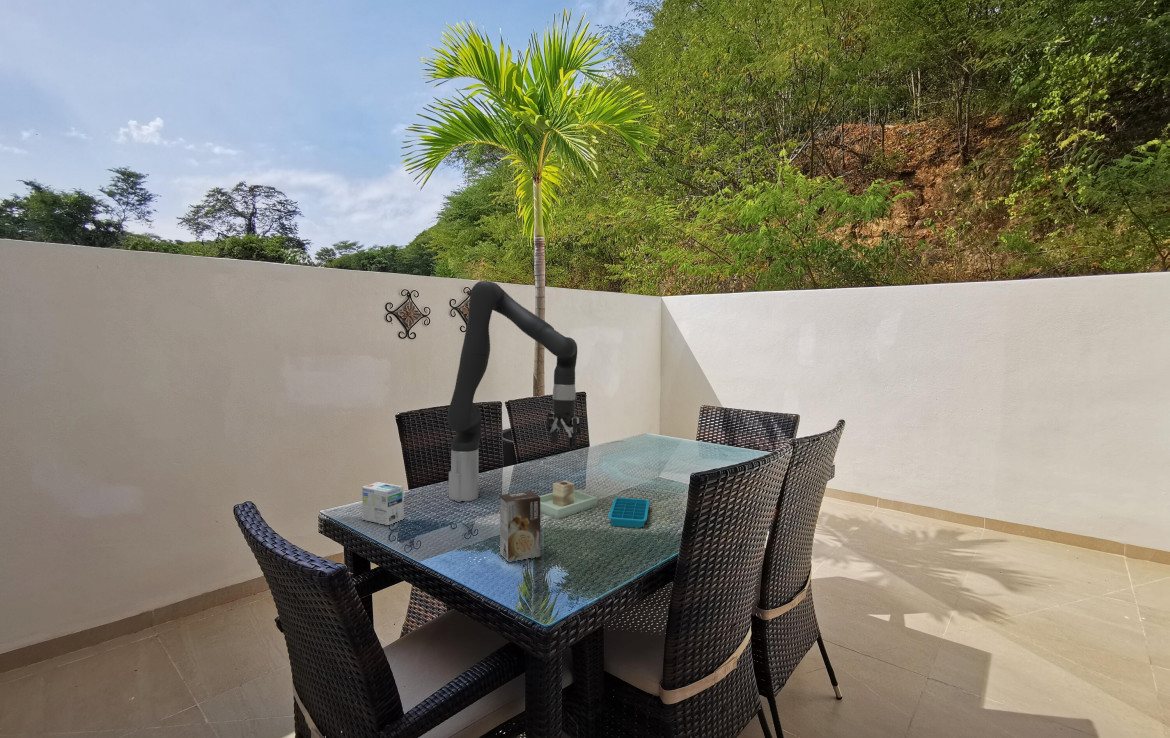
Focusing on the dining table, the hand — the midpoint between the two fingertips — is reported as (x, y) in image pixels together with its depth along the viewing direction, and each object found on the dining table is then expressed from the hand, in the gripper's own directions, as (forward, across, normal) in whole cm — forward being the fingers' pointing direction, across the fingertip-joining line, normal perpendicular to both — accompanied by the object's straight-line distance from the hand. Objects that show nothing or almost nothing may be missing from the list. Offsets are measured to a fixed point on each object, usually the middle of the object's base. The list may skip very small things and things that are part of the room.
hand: (563, 445), depth 175 cm
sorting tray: (+20, +1, 0) cm, 20 cm away
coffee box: (+21, +22, -34) cm, 46 cm away
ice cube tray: (+21, +22, +9) cm, 32 cm away
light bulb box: (+21, -26, -50) cm, 60 cm away
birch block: (+19, +1, 0) cm, 19 cm away
